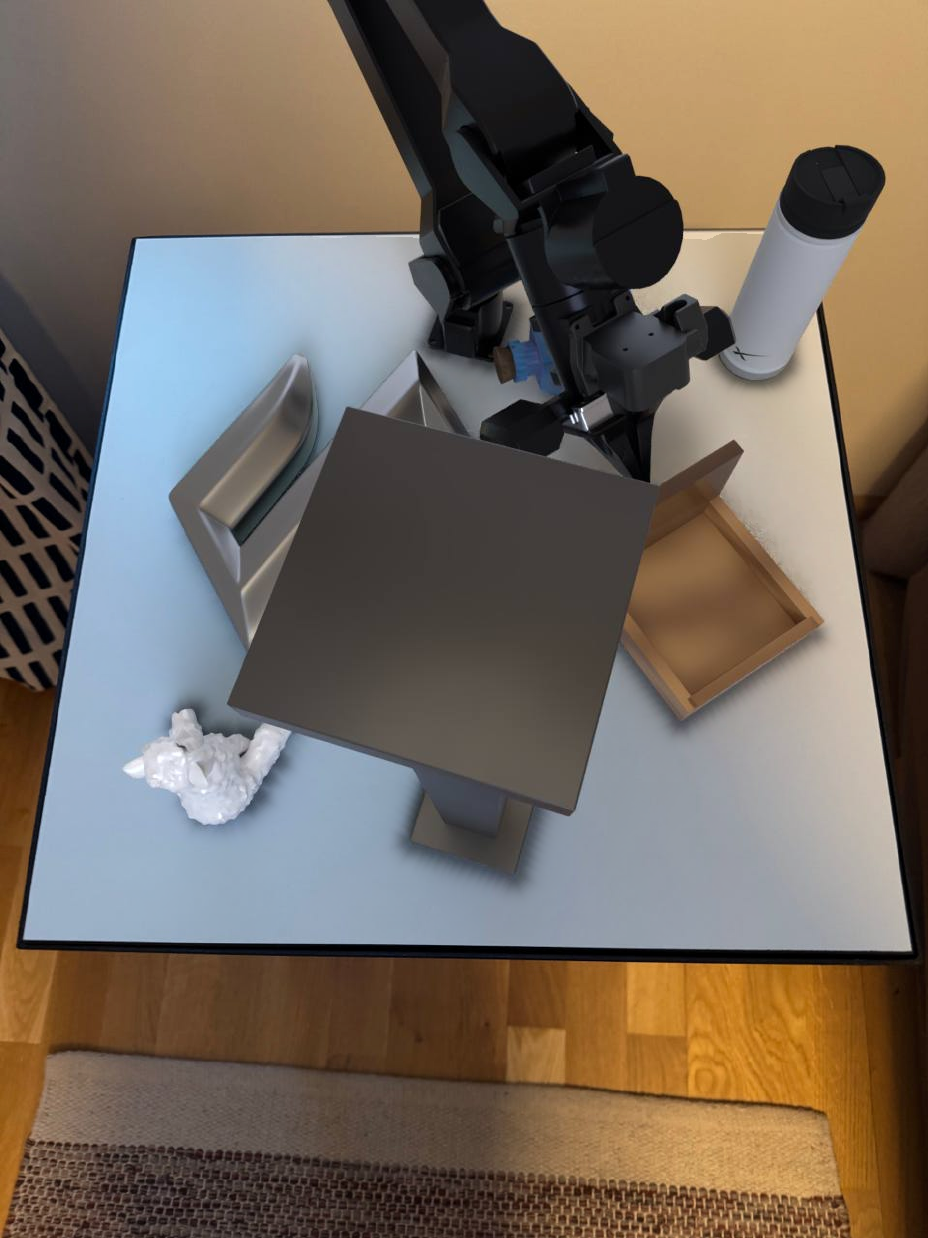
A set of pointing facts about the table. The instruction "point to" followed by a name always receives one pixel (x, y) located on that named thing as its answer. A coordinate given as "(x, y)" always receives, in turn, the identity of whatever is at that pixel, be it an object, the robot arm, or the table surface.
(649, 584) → the oak drawer
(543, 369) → the perfume bottle
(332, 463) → the plant stand
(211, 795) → the white creature statuette
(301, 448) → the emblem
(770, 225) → the travel mug
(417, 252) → the table surface
